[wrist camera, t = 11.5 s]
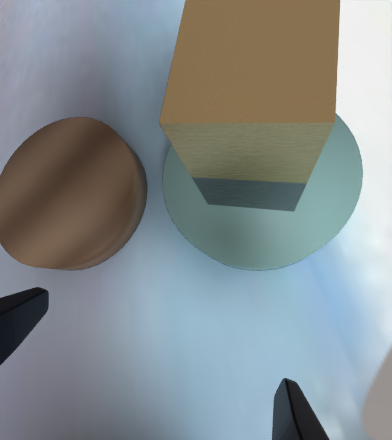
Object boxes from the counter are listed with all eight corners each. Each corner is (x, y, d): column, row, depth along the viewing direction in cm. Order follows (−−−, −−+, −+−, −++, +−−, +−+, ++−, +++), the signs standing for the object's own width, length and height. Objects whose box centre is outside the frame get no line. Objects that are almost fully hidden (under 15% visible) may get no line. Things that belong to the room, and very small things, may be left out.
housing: (294, 211, 16) (334, 122, 7) (207, 204, 17) (158, 123, 9) (299, 133, 17) (340, -21, 8) (219, 132, 18) (185, 0, 10)
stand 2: (388, 176, 18) (412, 155, 15) (259, 310, 18) (260, 314, 15) (249, 88, 22) (248, 59, 19) (145, 194, 22) (129, 180, 19)
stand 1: (176, 192, 21) (164, 177, 19) (67, 303, 21) (37, 305, 18) (93, 113, 26) (73, 92, 23) (2, 204, 26) (-29, 194, 23)
